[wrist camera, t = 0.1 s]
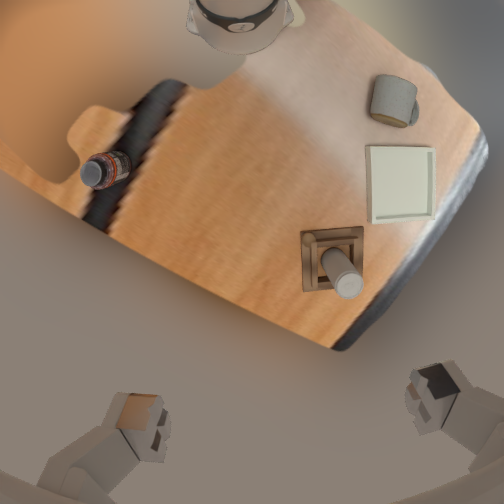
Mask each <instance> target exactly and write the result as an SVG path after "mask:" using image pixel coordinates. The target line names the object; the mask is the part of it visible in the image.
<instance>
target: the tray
mask: <svg viewBox="0 0 504 504" xmlns="http://www.w3.org/2000/svg"><path fill="white" fill-rule="evenodd" d="M365 154H366V177H367V221H368V222H370V223H371V224H382V223H395V222H409V221H422V220H435V201H436V148H432V147H410V146H365Z"/></svg>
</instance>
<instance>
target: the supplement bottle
mask: <svg viewBox="0 0 504 504" xmlns="http://www.w3.org/2000/svg"><path fill="white" fill-rule="evenodd" d="M130 171H131V161H130V159H129V157H128V156H127V155H126V154H125V153H123V152H121V151H112V152H105V153H98V154H95V155H92V156H91V157H90V158H89V159H88V160H87V161H86V163H85V164H84V165H83V166H82V168H81V171H80V176H81V180H82V182H83V183H84V184H85V185H87V186H90V187H91V188H93V189H104V188H107V187H109V186H112V185H114V184H117V183H120V182H122V181H123V180H125V179H126V178H127V177H128V176H129V174H130Z"/></svg>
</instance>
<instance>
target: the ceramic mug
mask: <svg viewBox="0 0 504 504" xmlns="http://www.w3.org/2000/svg"><path fill="white" fill-rule="evenodd" d="M416 94H417V87H416V86H415V85H414V84H412V83H411V82H409V81H407V80H404V79H402V78H399V77H396V76H392V75H378V76H377V77H376V81H375V87H374V93H373V99H372V103H371V116H372V118H373V119H375V120H377V121H379V122H382V123H384V124H388V125H391V126H394V127H398V128H405V127H407V126H413V125H414V124H415V123H416V122H417V120H418V117H419V105H418V102H417V100H416V99H415V98H416ZM412 110H413V112H412ZM411 114H412V116H411Z"/></svg>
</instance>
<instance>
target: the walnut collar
mask: <svg viewBox="0 0 504 504" xmlns="http://www.w3.org/2000/svg"><path fill="white" fill-rule="evenodd" d="M300 234H301V254H302V278H303V292H309V291H318V290H327V289H334V287H333V285H332V283H331V281H330V280H329V278H328V276H324V277H318V273H317V248H318V247H329V246H340V245H350V262H351V263H352V264H353V266H354V267H355V268H356V270H357V271H358V272H359V274H360V275H361V276H362V273H363V240H364V227H363V226H358V227H346V228H335V229H323V230H312V231H300Z"/></svg>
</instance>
